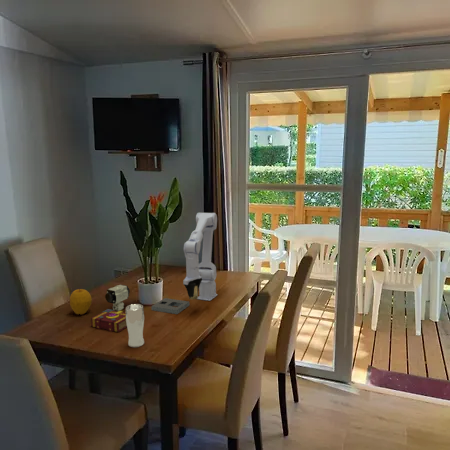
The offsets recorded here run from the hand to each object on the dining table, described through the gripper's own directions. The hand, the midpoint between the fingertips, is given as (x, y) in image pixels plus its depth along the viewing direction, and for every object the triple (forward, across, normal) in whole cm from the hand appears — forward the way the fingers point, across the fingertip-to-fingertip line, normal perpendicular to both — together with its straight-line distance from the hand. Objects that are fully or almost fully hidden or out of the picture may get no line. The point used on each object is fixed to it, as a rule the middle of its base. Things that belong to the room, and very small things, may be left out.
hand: (193, 295), depth 185 cm
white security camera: (+9, -10, +35) cm, 37 cm away
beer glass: (+8, -37, +6) cm, 38 cm away
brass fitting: (+1, 0, 0) cm, 1 cm away
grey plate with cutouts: (+8, +1, +13) cm, 15 cm away
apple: (+9, -20, +49) cm, 54 cm away
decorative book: (+9, -26, +27) cm, 38 cm away
